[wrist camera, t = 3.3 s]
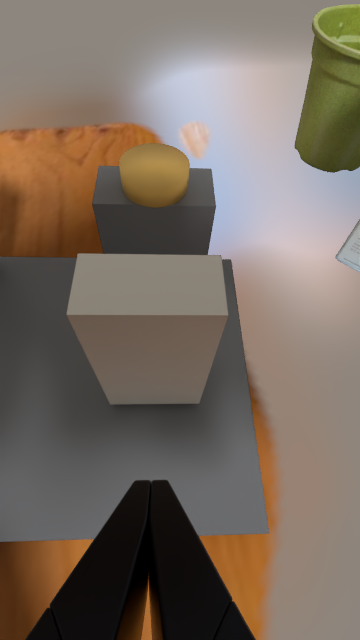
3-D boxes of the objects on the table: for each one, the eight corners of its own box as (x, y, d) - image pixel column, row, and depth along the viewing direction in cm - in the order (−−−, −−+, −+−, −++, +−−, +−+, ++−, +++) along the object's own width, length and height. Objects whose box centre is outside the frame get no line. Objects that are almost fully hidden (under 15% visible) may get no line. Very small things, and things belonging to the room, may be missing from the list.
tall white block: (199, 403, 15) (228, 315, 8) (110, 404, 14) (66, 314, 8) (197, 362, 16) (221, 255, 9) (113, 363, 15) (77, 253, 9)
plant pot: (365, 202, 25) (449, 75, 18) (258, 160, 28) (293, 30, 20) (392, 147, 30) (469, 26, 22) (297, 114, 32) (338, -6, 25)
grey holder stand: (259, 531, 14) (367, 552, 6) (-211, 546, 13) (-709, 591, 5) (226, 273, 21) (260, 146, 14) (-75, 270, 20) (-210, 132, 13)
